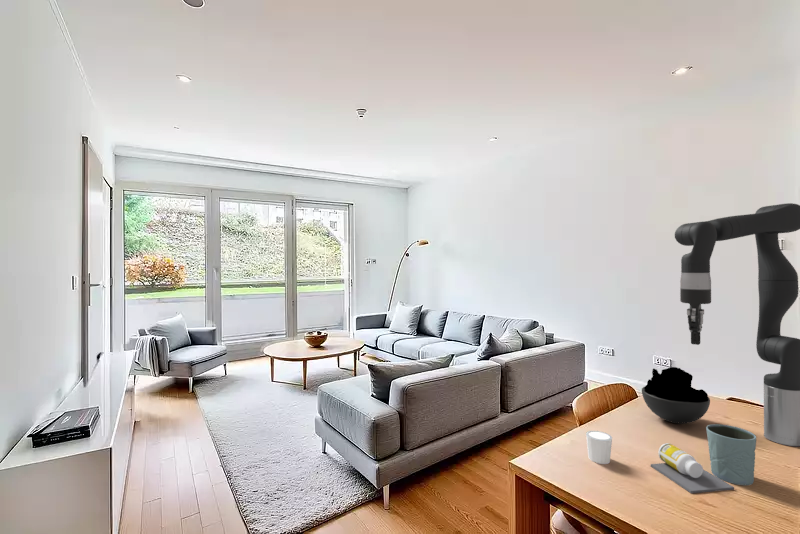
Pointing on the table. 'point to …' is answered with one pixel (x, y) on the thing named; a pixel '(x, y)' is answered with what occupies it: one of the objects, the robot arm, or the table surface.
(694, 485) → the mat
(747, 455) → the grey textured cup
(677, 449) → the supplement bottle
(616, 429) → the table surface
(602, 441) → the shot glass
